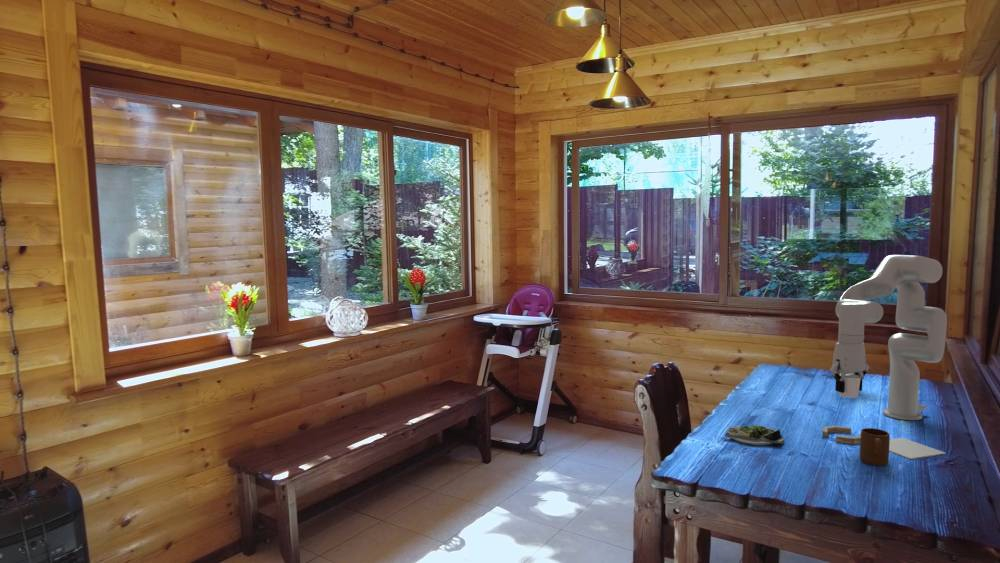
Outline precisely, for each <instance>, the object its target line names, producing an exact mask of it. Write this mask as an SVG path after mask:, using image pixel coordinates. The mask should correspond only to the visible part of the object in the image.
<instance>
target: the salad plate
mask: <svg viewBox="0 0 1000 563" xmlns="http://www.w3.org/2000/svg"><path fill="white" fill-rule="evenodd" d="M726 432H727V433H725V434H724V436H723V437H726V438H729V439H732V440H734V441H736V442H739V443H741V444H742V443H743V444H746V445H750V446H779V445H781V444H785V437H783V436H782V435H781V430H780V429H779V428H777V429H775V430H774V429H772V428H769V427H767V426H763V425H750V426H748V425H747V426H742V425H741V426H731V427H729V428H727V430H726Z"/></svg>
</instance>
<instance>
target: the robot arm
mask: <svg viewBox="0 0 1000 563" xmlns="http://www.w3.org/2000/svg"><path fill="white" fill-rule="evenodd" d="M942 276H943V266H942V264H941V262H940V261H939V260H937V259H934V258H930V257H928V256H927V257H926V256H922V255H912V254H911V255H910V254H909V255H908V254H890V255H887V256H886V257H884V258H883V259H882V260H881V261H880V263H879V265H878V266H877V267H876V269H875V270H874V272H873V273H872V274H871V276H870V277H869V278H868V279H865V280H863V281H860V282H858V283H856V284H854V285H852V286H850V287H848V288H847V289H846V290H845V291H844V292H843V293H842V295H841V296H840V298H839V299H838V301H837V303H836V305H835V314H836V315H835V316H837V317H838V333H837V335H838V336H837V342H835V345H834V350H833V355H832V365H831V367H830V368H829V372H830V374H831V375H832V377H833V379H834V380H835V387H834V388H835V392H838V393H839V392H841V393H844V390H845V381H843V380H844V377H845V375H846V373H854V374H855V375H859V376H860V377H861V380H860V386H859V391H860V392H861V391H863V380H864V379H865V375H866V374H867V372H868V371H869V370H870V365H869V364H868V363H867V362H866V360H867V358H866V346H865V343H864V342H865V341H864V340H865V324H874V323H877V322H879V321H880V320H882V318H883V317H884V307H883V306H882V304H880V303H879V302H877V301H872V300H873V299H879V298H883V297H888V296H889V295H892V293H894V291H895V289H896V291H897V301H896V310H895V324H896V327H898V328H899V329H902V330H907V331H912V332H913V331H914V332H920V333H921V332H922V333H926V334H927V335H921V334H920V335H919V334H913V333H906V332H905V333H903V332H898V333H894V334H892V335H891V336H890V337H889V339H888V341H887V342H888V344H887V350H888V355H889V378H888V396H887V397H888V398H887V399H888V400H887V408H884V409H883V410H882V413H883V415H884V416H887V417H889V418H893V419H896V420H897V419H898V420H903V421H919V420H923V414H922V413H921V412H920V411H924V410H927V406H926V405H925V404H919V395H920V394H919V392H920V379H921V378H920V376H921V374H920V368H919V367H918V365H917V363H916V362H924V363H930V364H932V363H933V364H935V363H939V362H941V361H942V359H943V358H944V357H943V356H944V354H945V349H946V348H945V346H946V338H947V325H948V324H947V323H948V317H947V313H946V312H945V311H944V309H943V308H940V307H935V306H934V307H933V306H926V305H925V299H926V298H925V296H926V295H925V289H924V288H923V286H922V285H921V284H920V283H925V284H926V283H927V284H935V283H936V282H938V281H940V280H941V278H942ZM915 361H916V362H915ZM840 373H841V376H840Z"/></svg>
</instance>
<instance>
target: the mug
mask: <svg viewBox="0 0 1000 563" xmlns="http://www.w3.org/2000/svg"><path fill="white" fill-rule="evenodd" d="M860 432H861V439H860V443H859V445H860V446H859V459H860V461H862V462H863V463H864V464H868V465H871V466H878V467H881V466H886V465H888V464H889V459H890V458H889V457H890V452H889V443H890V433H889V432H888V431H886V430H882V429H878V428H873V427H871V428H870V427H867V428H862V429H861V431H860Z"/></svg>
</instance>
